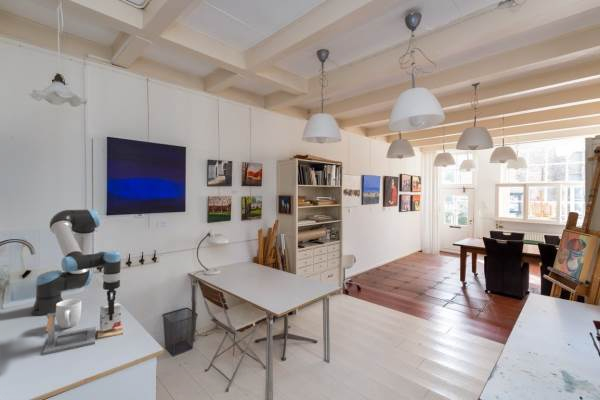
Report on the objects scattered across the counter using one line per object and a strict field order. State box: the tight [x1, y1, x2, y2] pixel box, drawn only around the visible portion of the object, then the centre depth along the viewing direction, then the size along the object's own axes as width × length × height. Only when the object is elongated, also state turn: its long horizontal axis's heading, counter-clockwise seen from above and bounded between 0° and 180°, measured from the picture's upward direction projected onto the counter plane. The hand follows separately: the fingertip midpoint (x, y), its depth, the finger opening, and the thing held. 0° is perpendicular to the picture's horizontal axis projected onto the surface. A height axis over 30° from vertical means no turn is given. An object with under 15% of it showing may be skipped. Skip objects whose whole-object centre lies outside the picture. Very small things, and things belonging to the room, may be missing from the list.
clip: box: [45, 312, 56, 332], centre depth 131 cm, size 3×19×1 cm, turn 37°
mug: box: [55, 298, 82, 329], centre depth 155 cm, size 15×11×13 cm
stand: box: [42, 316, 97, 356], centre depth 142 cm, size 18×19×14 cm
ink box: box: [99, 302, 122, 331], centre depth 152 cm, size 9×5×12 cm, turn 140°
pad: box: [97, 323, 124, 340], centre depth 152 cm, size 11×11×1 cm
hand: (110, 323), depth 152 cm, fingers closed on ink box, 6 cm apart
